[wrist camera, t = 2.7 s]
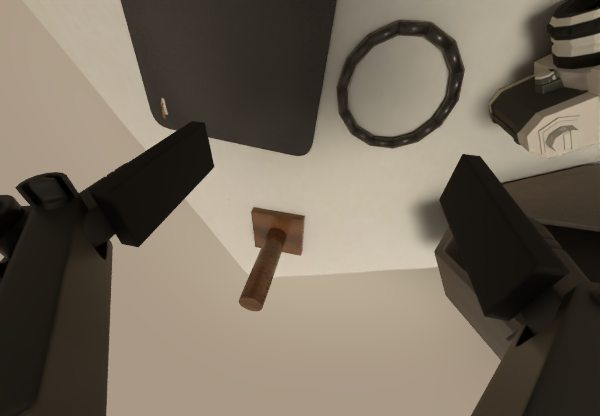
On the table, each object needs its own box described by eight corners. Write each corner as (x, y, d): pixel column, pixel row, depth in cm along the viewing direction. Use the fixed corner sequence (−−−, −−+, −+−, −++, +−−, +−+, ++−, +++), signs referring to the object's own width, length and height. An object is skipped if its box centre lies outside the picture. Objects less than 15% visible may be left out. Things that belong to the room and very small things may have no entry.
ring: (346, 16, 21) (345, 17, 20) (488, 25, 20) (493, 25, 19) (330, 138, 28) (329, 142, 27) (433, 151, 27) (435, 155, 26)
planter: (773, 165, 17) (836, 483, 9) (727, 239, 21) (743, 510, 13) (486, 163, 31) (407, 294, 22) (490, 209, 34) (423, 335, 26)
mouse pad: (68, -202, 17) (64, -204, 16) (365, -169, 15) (365, -172, 15) (156, 124, 32) (154, 125, 31) (310, 157, 30) (309, 159, 30)
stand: (253, 207, 37) (213, 279, 28) (304, 216, 36) (282, 293, 27) (257, 242, 43) (224, 313, 33) (302, 251, 42) (282, 327, 32)
